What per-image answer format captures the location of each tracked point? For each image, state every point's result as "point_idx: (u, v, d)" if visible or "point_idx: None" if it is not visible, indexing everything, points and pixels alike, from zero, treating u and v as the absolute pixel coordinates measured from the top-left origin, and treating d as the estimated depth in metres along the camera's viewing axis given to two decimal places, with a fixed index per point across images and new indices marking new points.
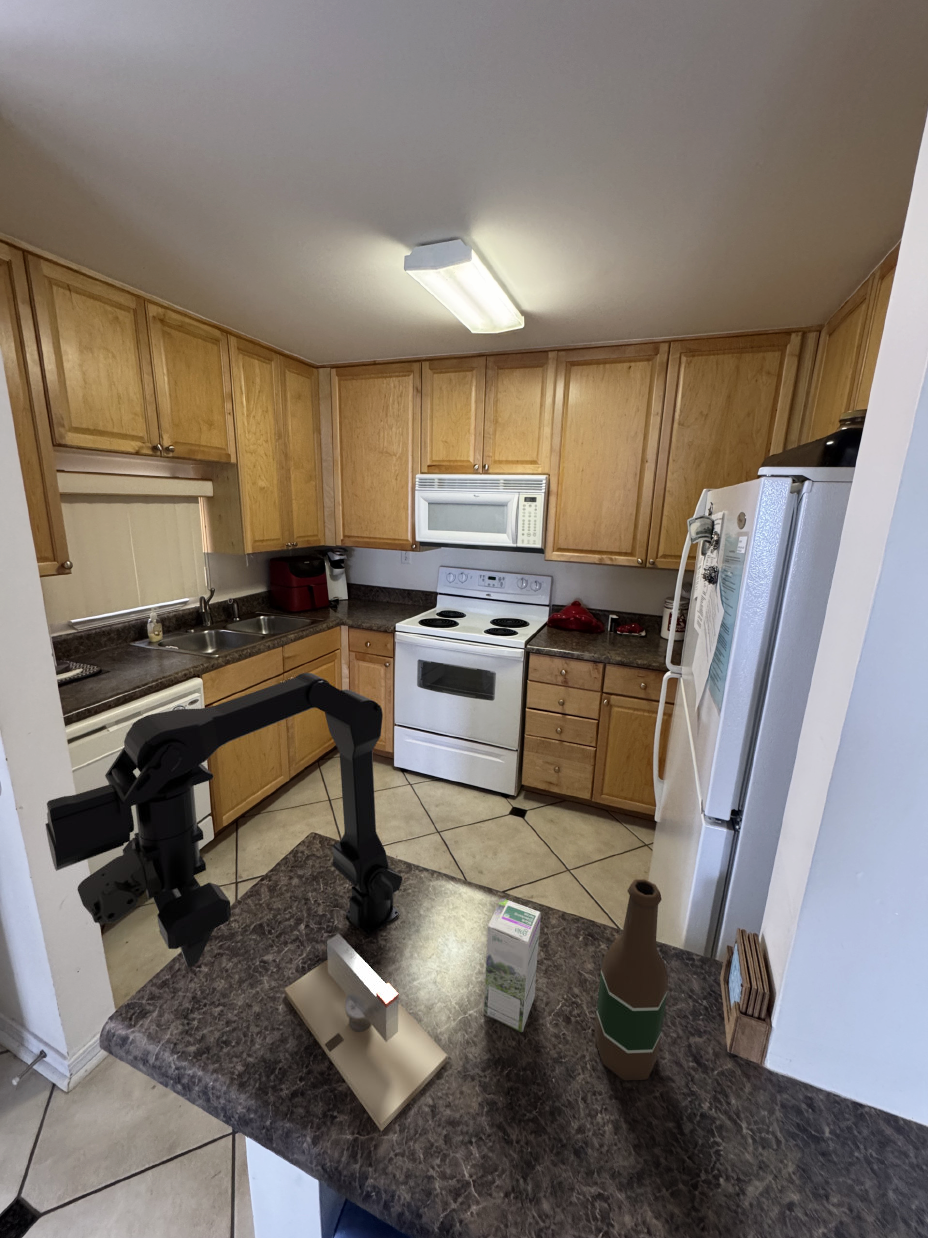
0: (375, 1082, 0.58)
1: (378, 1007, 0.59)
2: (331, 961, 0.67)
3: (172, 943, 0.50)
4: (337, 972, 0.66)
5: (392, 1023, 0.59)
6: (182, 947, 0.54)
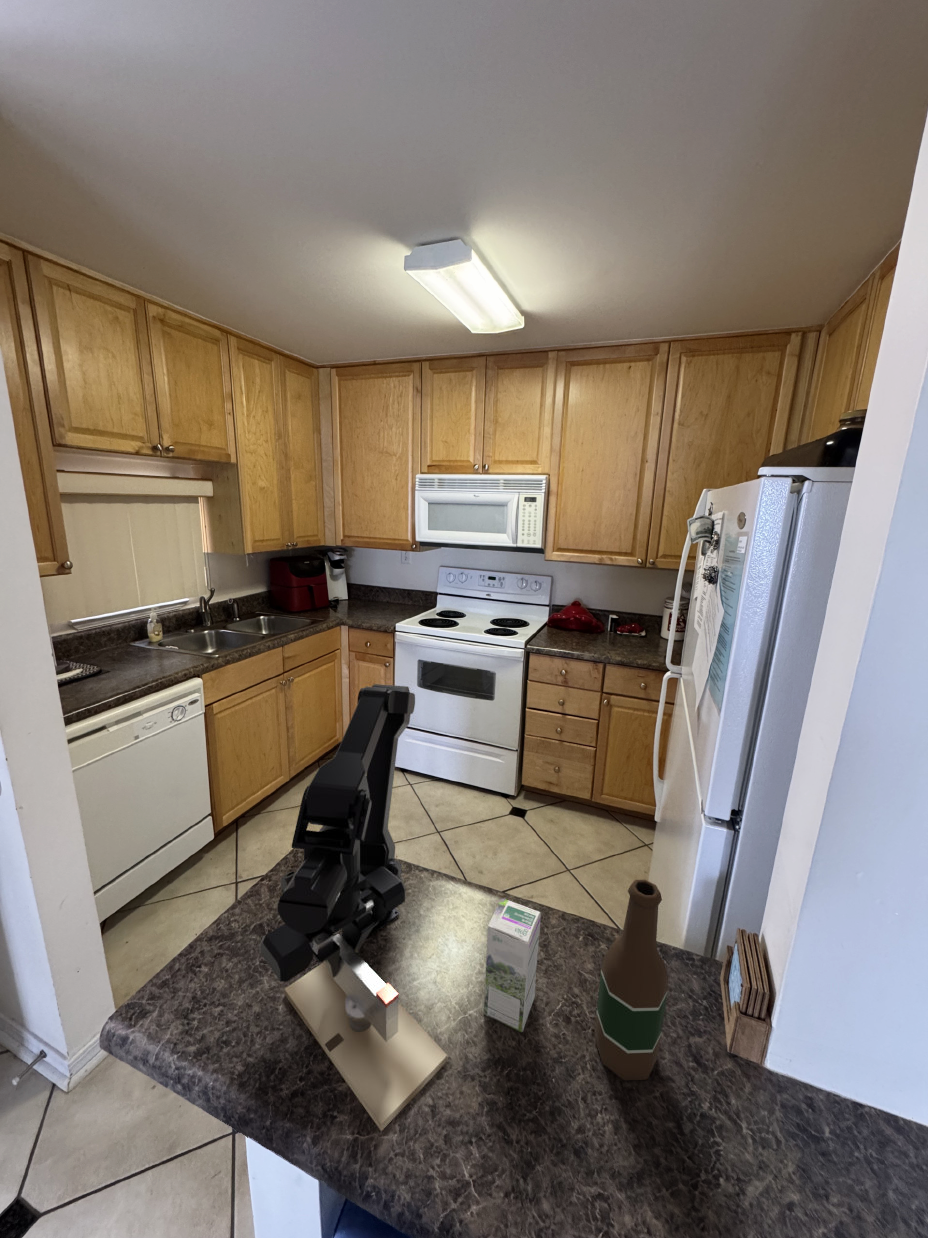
0: (375, 1082, 0.58)
1: (378, 1007, 0.59)
2: None
3: None
4: (337, 972, 0.66)
5: (392, 1023, 0.59)
6: None
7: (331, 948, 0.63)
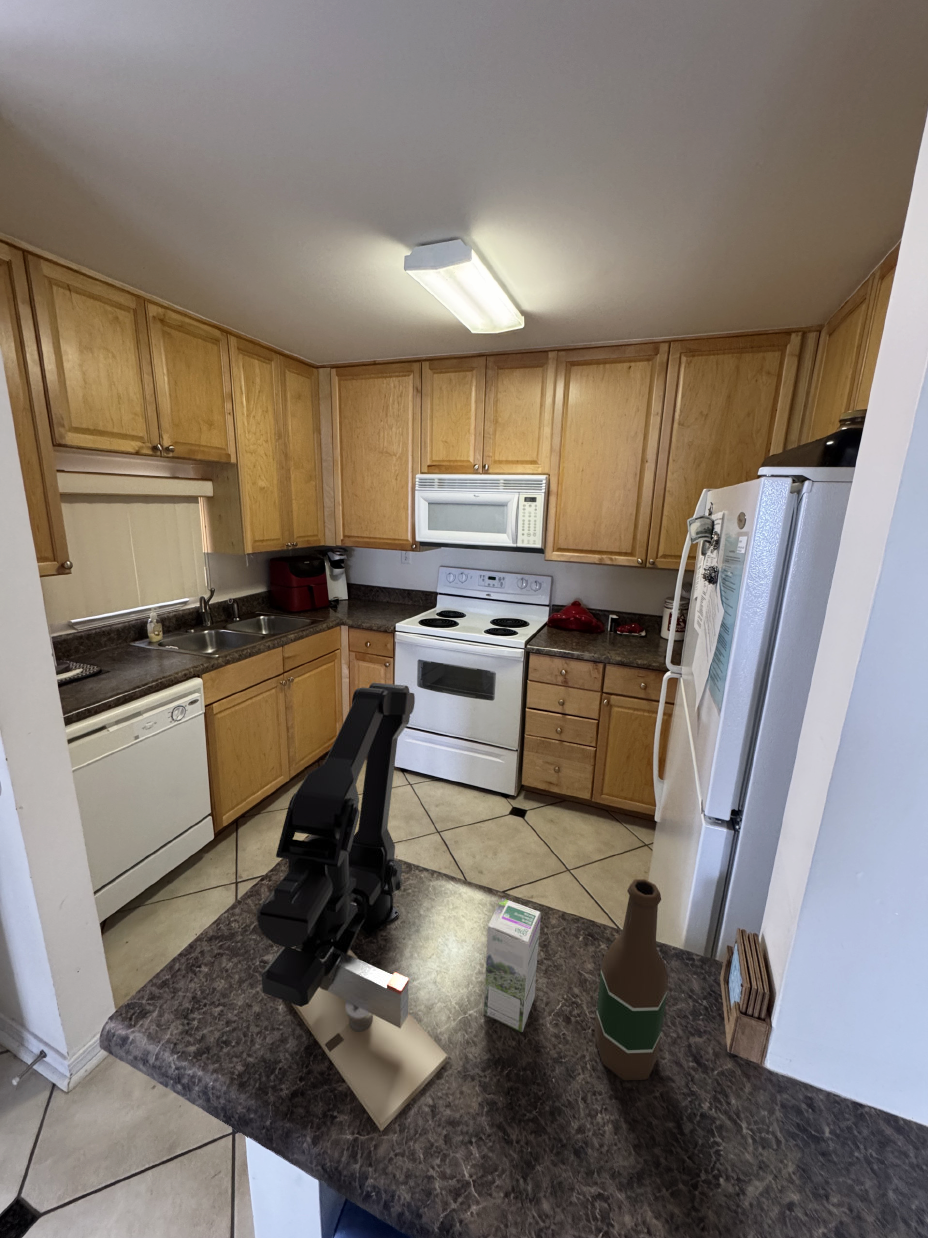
0: (375, 1082, 0.58)
1: (389, 997, 0.61)
2: None
3: (262, 985, 0.56)
4: None
5: (404, 1008, 0.61)
6: None
7: (332, 959, 0.61)
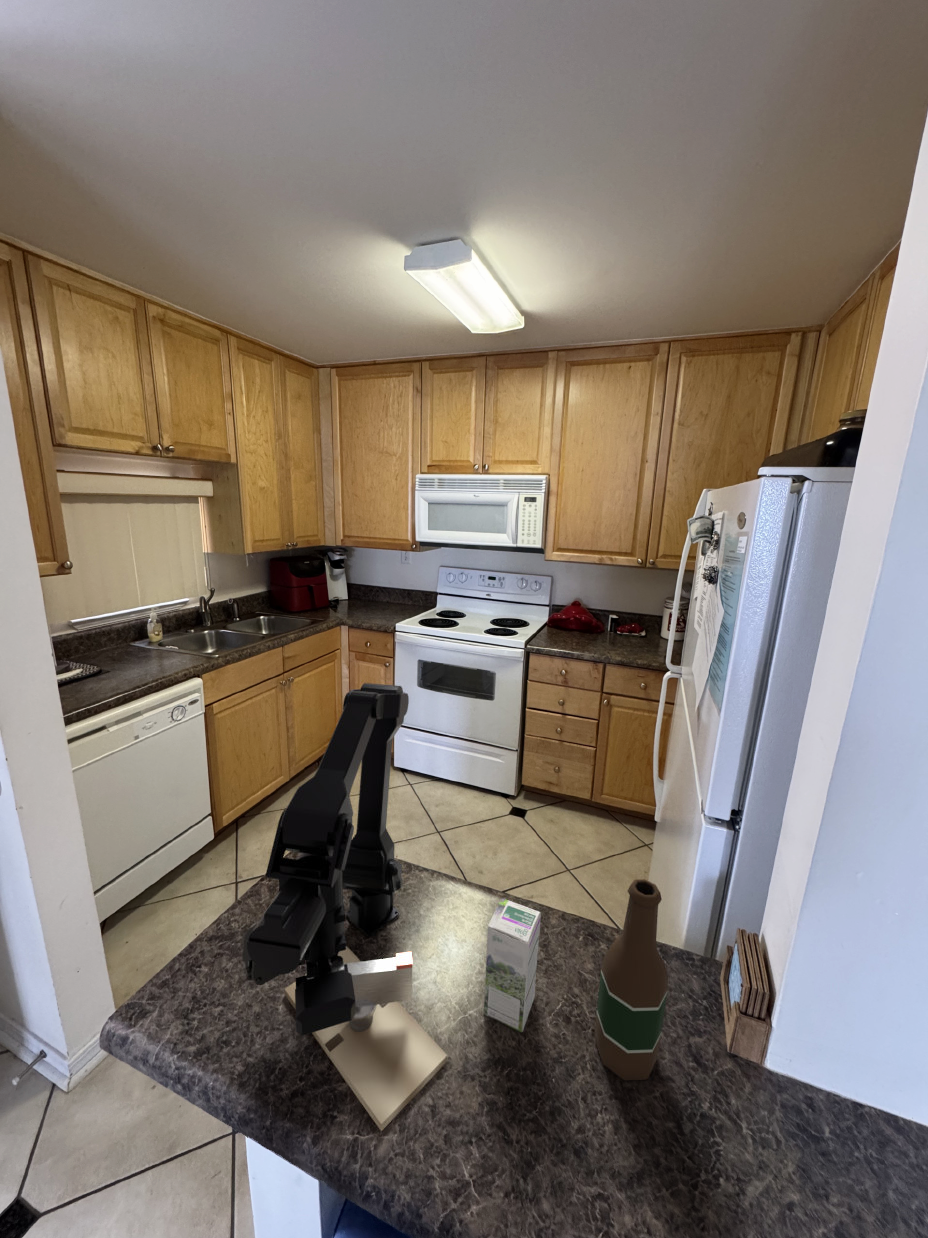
0: (375, 1082, 0.58)
1: (400, 976, 0.63)
2: None
3: (299, 1029, 0.52)
4: None
5: None
6: None
7: None
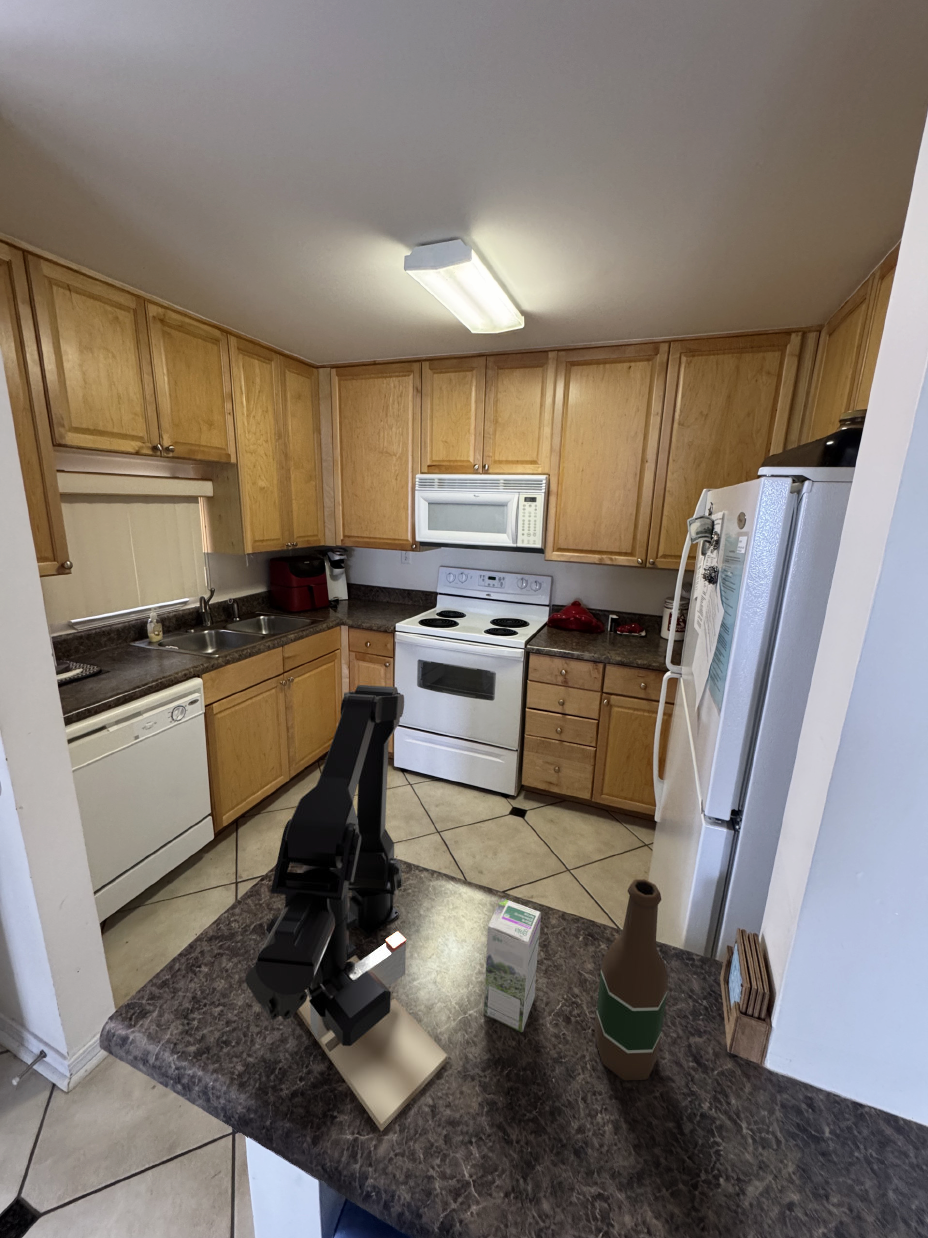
0: (375, 1082, 0.58)
1: (396, 957, 0.66)
2: None
3: (347, 1040, 0.51)
4: None
5: None
6: None
7: None
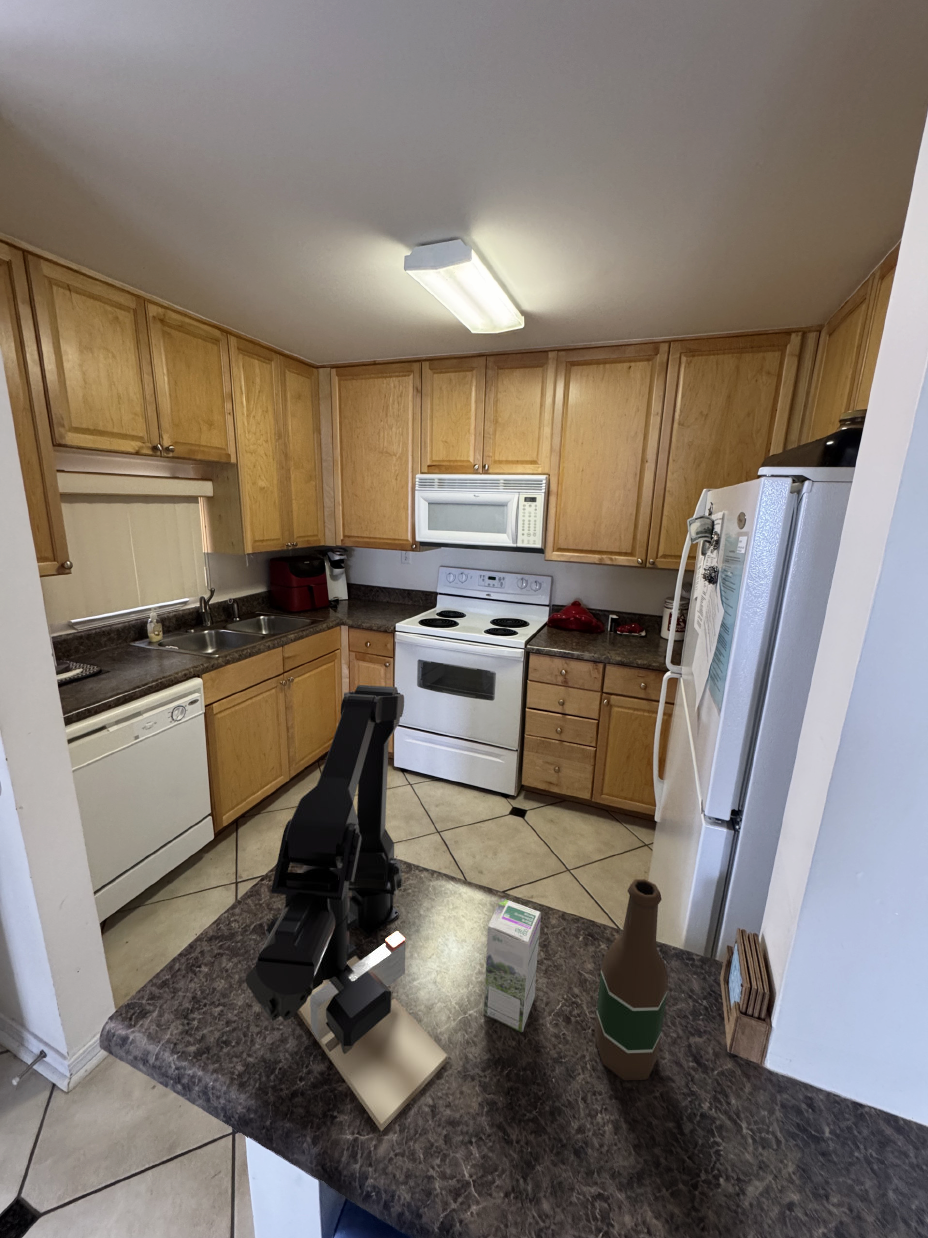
0: (375, 1082, 0.58)
1: (396, 956, 0.66)
2: None
3: (347, 1040, 0.51)
4: None
5: None
6: None
7: None
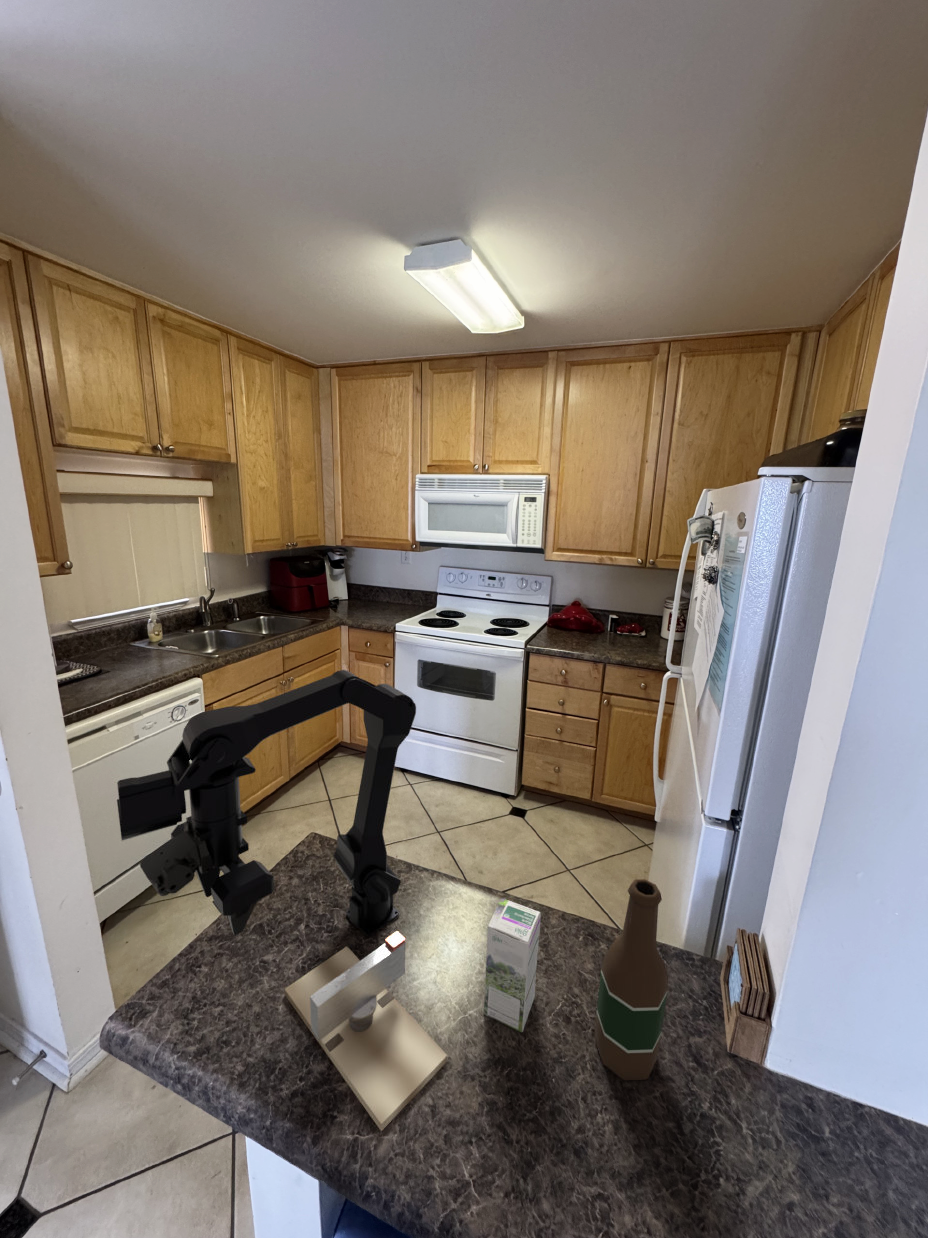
0: (375, 1082, 0.58)
1: (396, 956, 0.66)
2: (326, 1017, 0.59)
3: (226, 911, 0.58)
4: (337, 1013, 0.60)
5: None
6: (231, 916, 0.61)
7: None
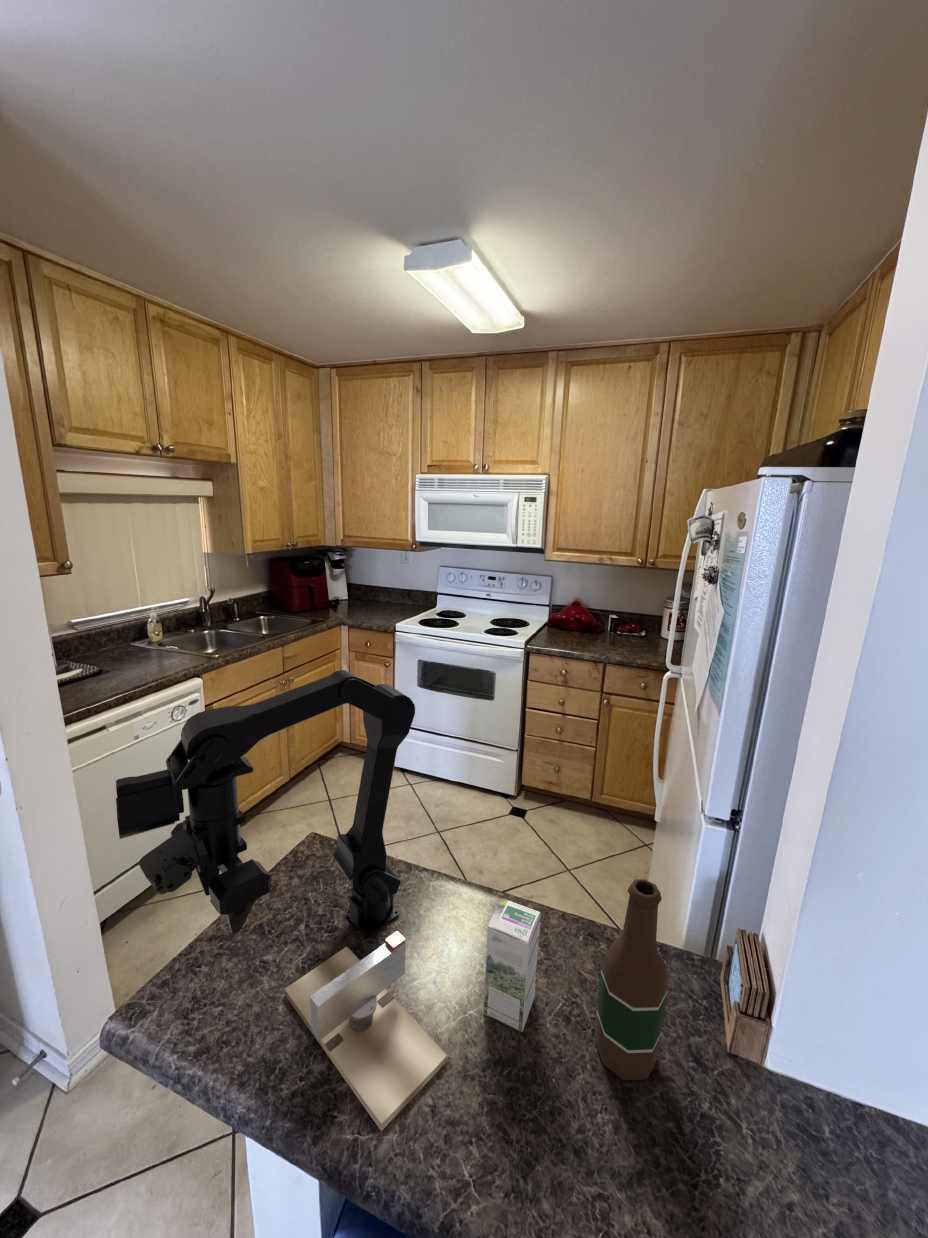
0: (375, 1082, 0.58)
1: (396, 956, 0.66)
2: (326, 1017, 0.59)
3: (223, 909, 0.58)
4: (337, 1013, 0.60)
5: None
6: (229, 915, 0.62)
7: None
